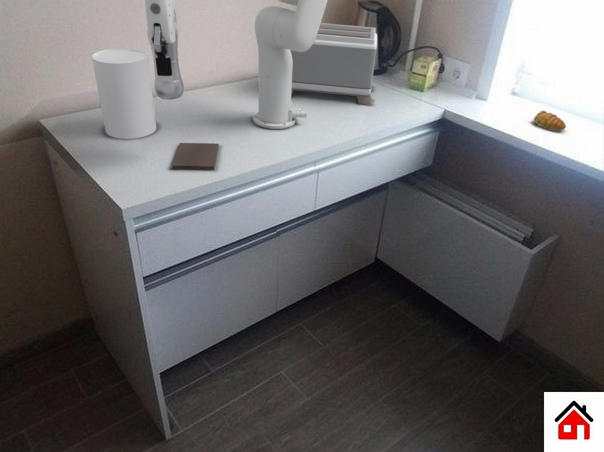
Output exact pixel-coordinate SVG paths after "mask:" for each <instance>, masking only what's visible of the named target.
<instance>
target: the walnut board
mask: <svg viewBox="0 0 604 452" xmlns="http://www.w3.org/2000/svg"><path fill="white" fill-rule="evenodd" d="M219 148H220V147H219V143H213V142H212V143H210V142H207V143H206V142H202V143H201V142H180V143H179V145H178V147H177V150H176V154H175V157H174V159H173V162H172V165H171V167H172V170H188V171H189V170H191V171H192V170H193V171H215V167H216V162H217V158H218V153H219Z"/></svg>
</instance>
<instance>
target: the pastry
mask: <svg viewBox="0 0 604 452" xmlns="http://www.w3.org/2000/svg"><path fill="white" fill-rule="evenodd" d="M533 122H534V124H535V125H539V127H541V128H544V129H546V130H549V131H555V132H561V131H564V130H565V129H566V128H567V125H566V123H565V121H564V120H563V119H562V118H560V117H558V115H557V114H553V113H552V112H547V111H546V110H541V111H539V112H538V113H536V115H535V116H534V118H533Z"/></svg>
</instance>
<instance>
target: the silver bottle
mask: <svg viewBox="0 0 604 452" xmlns="http://www.w3.org/2000/svg"><path fill="white" fill-rule="evenodd" d="M155 9H156V7H155ZM146 34H147V38H148V42H149V45H150V49H151V54H152V58H153V64H154V65H153V67H154V91H155V94H156V96H157V97H158V98H160V99H162V100H166V101H167V100H168V101H171V100H176V99H179V98H182V96H183V95H184V89H185V85H184V82H183V77H182V74H181V69H180V65H179V58H178V57H179V53H178V47H179V44H178V43H179V35H178V32H177V29H175V38H176V40H175V42H174V43H173V44H170V43H168V48H169V57H171V66H172V76H158V75H157V68H156V60H155V48H154V44H153V43H151V42H150V38H149V33H148V30H147V32H146ZM152 40H154V36H153V38H152ZM161 43H165V39H163V38H161ZM162 47H164V49H165V46H162Z"/></svg>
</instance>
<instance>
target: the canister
mask: <svg viewBox="0 0 604 452" xmlns="http://www.w3.org/2000/svg"><path fill="white" fill-rule="evenodd" d="M91 60H92V66H93V70H94V75H95V83H96V86H97V92H98V99H99V103H100V108H101V114H102V120H103V123H104V124H103V125H104V130H105V133H106V135H108V136H110V137H112V138H115V139H123V140H134V139H140V138H144V137H147V136H149V135H151V134H153V133H154V132H155V131H156V130H157V120H156V112H155V106H154V96H153V88H152V79H151V73H150V72H151V71H150V64H149V55H148V53H147V52H146V51H143V50H141V49H135V48H124V47H123V48H122V47H121V48H120V47H119V48H109V49H103V50H100V51H97V52H95V53H93V54H92V55H91Z"/></svg>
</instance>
